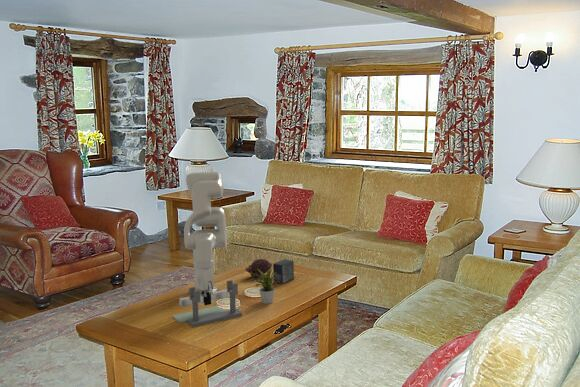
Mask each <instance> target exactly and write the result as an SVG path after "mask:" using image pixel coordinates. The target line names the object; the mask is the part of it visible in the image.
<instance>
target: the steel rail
mask: <svg viewBox="0 0 580 387" xmlns="http://www.w3.org/2000/svg"><path fill="white" fill-rule="evenodd" d="M204 297H205V294H200V302H198V305H199V304H204ZM227 298H228V299H229V298H230V293H229V292H227V288H225V289H221V290H217V291H215V292H213V293H212V294H211V302H213V301H217V300H222V299H227ZM179 306H181V307H182V308H183V307H184V308H185V307H188V306H192V300H190V296H189V295H188V296H185V297H179Z"/></svg>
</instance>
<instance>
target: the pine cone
mask: <svg viewBox="0 0 580 387" xmlns="http://www.w3.org/2000/svg"><path fill="white" fill-rule="evenodd" d="M271 268H273V263H271V262H269V260H267V259H265V258H257V259H254V260H253V261H252V263H251V264H248V267H245V271H246V272H247V273H249V274H250V276H251V277H253V278H257V279H258V278H259V279H260V277H262V275H261V273H260V271H261V272H263V273H264V275H265V274H267V272H268V270H269V271H270V269H271ZM257 269H258V270H257ZM259 270H260V271H259ZM256 274H257V275H256ZM258 275H259V276H260V277H259V276H258Z"/></svg>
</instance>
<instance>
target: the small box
mask: <svg viewBox="0 0 580 387" xmlns="http://www.w3.org/2000/svg"><path fill="white" fill-rule="evenodd" d="M294 263H295V262H294V260H293V259H287V258H284V259H281V260H279V261H276V262H274V263H272V272H273V271H274V272H273V275H274V273H275V275H274V277H275V276H276V277H275V278H274V277H273V278H274V279H273V283H274V282H275V283H274V284H280V285H284V284H286V283H288V282H291V281H292V280H295V272H294V271H295V269H294V268H295V266H294ZM273 275H272V276H273ZM276 281H279V282H276Z"/></svg>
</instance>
